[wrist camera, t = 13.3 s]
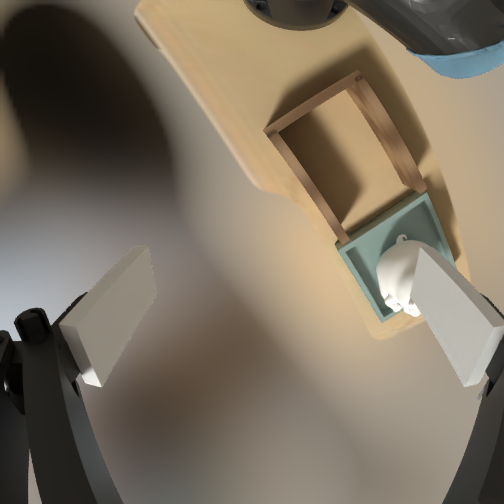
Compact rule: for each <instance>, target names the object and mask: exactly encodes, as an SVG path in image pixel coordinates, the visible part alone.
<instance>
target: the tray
mask: <svg viewBox="0 0 504 504" xmlns="http://www.w3.org/2000/svg"><path fill="white" fill-rule="evenodd" d="M401 234H404V235H406V237H407V239H406V238H405V237H403V241H407V240H417V241H421V242H423V243H425V244H427V245H428V246H430V247H433V248H434V249H436V250H437V251H438V252H439V253H440V254H441V255H442V256H443V257H444V258H445V259H446V260H447V261H448V262H449V263H450V264H451V265H452V266H453V267H454V268H455V269H457V268H456V265H455V262H454V259H453V256H452V253H451V250H450V247H449V245H448V242H447V239H446V237H445V234H444V231H443V229H442V226H441V224H440V221H439V219H438V216H437V214H436V212H435V209H434V207H433V205H432V202H431V200H430V198H429V196H428V193H427V192H426V191H424V192H422V193H421V194H420V193H419V192H417V191H415V192H414V193H412V194H411V195H409V196H408V197H406V198H405V199H403V200H402V201H400V202H399V203H397V204H396V205H394V206H393V207H391V208H390V209H388V210H387V211H385V212H384V213H382V214H381V215H379V216H378V217H376V218H374V219H373V220H371V221H370V222H368V223H367V224H365V225H364V226H362V227H361V228H359V229H357V230H356V231H354V232H353V233H351V234H350V235H348V237H349V239H350V240H349V241H348V242H346V243H345V244H343V245H342V244H341V242H340V241H339V242H337V243H336V244H335V246H336V248H337V250H338V252H339V253H340V255H341V257H342V258H343V260H344V261H345V263H346V265H347V266H348V268H349V269H350V271H351V273H352V274H353V276H354V277H355V279H356V281H357V282H358V284H359V286H360V287H361V289H362V291H363V292H364V294H365V296H366V297H367V299H368V301H369V302H370V304H371V306H372V307H373V309H374V311H375V313H376V314H377V316H378V318H379V320H380V321H381V323H383V322H384V321H386V320H388V319H389V318H391V317H393V316H394V315H396V314H398V313H399V312H401V311H402V310H404V309H403V308H402V309H401V310H400V311H398V312H394V311H393V309H392V308H390V307H389V306H387V305H386V304H385V299H384V298H383V297H382V295H381V292H380V287H379V281H378V277H377V273H376V266H377V263H378V261H379V259H380V257H381V256H382V255H383V253H384V252H385V251H387V250H388V249H389V248H390V247H392V246H393V245H395V244H396V241H397V238H398V236H399V235H401ZM396 304H399V303H396ZM399 305H400V304H399ZM400 306H401V305H400Z"/></svg>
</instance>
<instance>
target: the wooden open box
mask: <svg viewBox="0 0 504 504" xmlns="http://www.w3.org/2000/svg"><path fill="white" fill-rule="evenodd" d="M345 89H346V90H347V92H348V93H349V95H350V96H351V98H352V99H353V101H354V102H355V103H356V105H357V106H358V108H359V109H360V111H361V113H362V114H363V116H364V117H365V119H366V120H367V122H368V123H369V125H370V127H371V128H372V130H373V131H374V133H375V135H376V136H377V138H378V140H379V141H380V143H381V145H382V146H383V148H384V150H385V152H386V153H387V155H388V157H389V159H390V161H391V162H392V164H393V166H394V168H395V170H396V171H397V173H398V175H399V177H400V179H401V181H402V183H403V184H404V185H406V186H408V187H409V188H411V189H413V190H415V191H417V192H419V193H420V194H421V193H422V192H424V191H425V190H427V187H426V184H425V182H424V180H423V178H422V176H421V174H420V172H419V170H418V168H417V166H416V164H415V162H414V160H413V158H412V156H411V154H410V152H409V150H408V149H407V147H406V145H405V143H404V141H403V139H402V138H401V136H400V134H399V132H398V131H397V129H396V127H395V125H394V124H393V122H392V120H391V119H390V117H389V115H388V114H387V112H386V110H385V109H384V107H383V106H382V104H381V102H380V101H379V99H378V98H377V96H376V95H375V93H374V92H373V90H372V89H371V87H370V86H369V84H368V83H367V81H366V80H365V78H364V77H363V76H362V74H361V73H360V71H359V70H357V71H355V72H353V73H351V74H350V75H348V76H346V77H344V78H343V79H341V80H339V81H338V82H336V83H334V84H333V85H331V86H329V87H328V88H326V89H325V90H323V91H321V92H320V93H318V94H316V95H315V96H313V97H312V98H310V99H309V100H307V101H305V102H304V103H302V104H301V105H299V106H298V107H296V108H295V109H293V110H292V111H290V112H289V113H287V114H286V115H284V116H283V117H281V118H280V119H278V120H277V121H275V122H274V123H272V124H271V125H269V126H268V127H267V128H265V129H264V130H263V131H264V133H265V134H266V135H267V136H268V138H269V139H270V140H271V142H272V143H273V145H274V146H275V147H276V149H277V150H278V151H279V153H280V154H281V155H282V157H283V158H284V160H285V161H286V162H287V164H288V165H289V167H290V168H291V169H292V171H293V172H294V174H295V175H296V176H297V178H298V179H299V181H300V182H301V184H302V185H303V186H304V188H305V189H306V191H307V192H308V194H309V195H310V197H311V198H312V200H313V201H314V203H315V204H316V206H317V207H318V208H319V210H320V212H321V213H322V215H323V216H324V218H325V219H326V221H327V222H328V224H329V225H330V227H331V228H332V230H333V231H334V233H335V235H336V236H337V238H338V239H339V241H340V242H341V244H342V245H343V244H345V243H346V242H348V241H349V240H350V239H349V237H348V236H347V234H346V232H345V231H344V229H343V227H342V226H341V224H340V223H339V221H338V219H337V218H336V216H335V215H334V213H333V212H332V210H331V209H330V207H329V205H328V204H327V202H326V201H325V199H324V198H323V196H322V195H321V193H320V192H319V190H318V189H317V187H316V186H315V184H314V183H313V181H312V180H311V178H310V177H309V176H308V174H307V173H306V171H305V170H304V168H303V167H302V165H301V164H300V163H299V161H298V160H297V158H296V157H295V155H294V154H293V153H292V151H291V150H290V149H289V147H288V146H287V144H286V143H285V142H284V140H283V139H282V138H281V136H280V135H279V134H278V132H279V131H281V130H282V129H284V128H285V127H287V126H288V125H290V124H291V123H293V122H294V121H296V120H297V119H299V118H300V117H302V116H303V115H305V114H306V113H308V112H309V111H311V110H312V109H314V108H316V107H317V106H319V105H320V104H322V103H323V102H325V101H327V100H328V99H330V98H331V97H333V96H335V95H336V94H338V93H340V92H341V91H343V90H345Z"/></svg>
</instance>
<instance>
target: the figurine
mask: <svg viewBox="0 0 504 504" xmlns="http://www.w3.org/2000/svg"><path fill="white" fill-rule="evenodd" d="M403 237H405V238H406V239H407V237H406V235H404V234H401V235H399V236H398V238H397V241H396V244H395V245H393V246H392V247H390V248H389V249H388V250H387V251H385V252H384V253H383V255H382V256H381V257H380V259H379V261H378V263H377V266H376V273H377V277H378V281H379V287H380V292H381V295H382V297H383V298H384V299H385V304H386V305H387V306H389V307H390V308H392V309H393V311H394V312H398V311H400V310H401V309H402V308H403V309H404V311H405V312H406V313H408V314H411V315H412V316H419V315H421V312H420V311H419V309H418V308H417V306H416V305H415V303H414V302H413V300H412V299H411V297H410V292H411V288H412V284H413V280H414V275H415V270H416V266H417V261H418V255H419V250H420V247H430V246H428V245H427V244H425V243H423V242H421V241H417V240H407V241H403ZM396 303H399V304H400V305H401V306H400V305H399V304H396Z"/></svg>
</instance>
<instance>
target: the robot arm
mask: <svg viewBox="0 0 504 504" xmlns="http://www.w3.org/2000/svg"><path fill="white" fill-rule="evenodd" d="M243 1H244V3H245V4H246V6H247V7H248V9H249V10H250V11H251V12H252V13H253V14H254V15H256V16H257V17H258V18H260V19H261V20H263V21H265V22H266V23H268V24H271V25H273V26H276V27H279V28H283V29H288V30H297V31H305V30H314V29H318V28H322V27H325V26H327V25H329V24H331V23H333V22H334V21H336V20H337V19H338V18H339V17H340V16H341V15H342V14H343V13H344V12H345V10H346V8H347V7H348V5H350V6H351V7H353V8H355V9H356V10H358V11H359V12H360V13H362V14H363V15H365V16H366V17H368V18H369V19H371V20H372V21H373V22H375V23H376V24H377V25H379V26H380V27H381V28H383V29H384V30H385V31H387V32H388V33H389V34H390V35H392V36H393V37H394V38H395V39H397V40H398V41H399V42H401V43H402V44H403V45H404V46H405V47H406V49H407V50H408V51H409V52H410V53H411V54H413V55H414V56H417V57H419V58H420V59H421V60H422V61H424V62H425V63H426V64H427V65H428V66H430V67H431V68H432V69H433V70H434V71H435V72H437V73H438V74H440V75H442V76H447V77H450V78H455V79H463V78H470V77H474V76H478V75H481V74H483V73H486V72H488V71H490V70H492V69H494V68H496V67H498V66H500V65H501V64H503V63H504V0H243ZM156 296H157V290H156V285H155V280H154V274H153V268H152V262H151V257H150V251H149V246H134V247H133V248H132V249H131V250H130V251H129V252H128V253H127V254H126V255H125V256H123V257H122V258H121V259H120V260H119V261H118V262H117V263H116V264H115V265H114V266H113V267H112V268H111V269H110V270H109V271H108V272H107V273H106V274H105V275H104V276H103V278H101V279H100V280H99V282H97V283H96V285H95V286H94V287H93V288H92V289H91V290H90V291H89V292H86V293H84V294H83V295H81V296H79V297H78V298H77V299H76V300H75V301H74V302H73V303H72V304H71V306H69V307H68V308H67V309H66V312H63V313H62V314H61V316H60V317H59V318H58V319H57V320H56V321H55V322H54V323H53V324H52V325H50V323H49V320H48V318H47V315H46V313H45V311H44V310H43V309H42V308H32V309H28V310H26V311H24V312H22V313H21V314H19V315H18V316H17V318H16V319H15V321H14V325H15V327H16V329H17V331H18V333H19V336H20V338H21V340H22V341H13V340H12V339H11V336H10V334H9V332H8V331H5V330H1V331H0V504H28V467H29V450H30V453H31V458H32V463H33V468H34V473H35V477H36V482H37V486H38V490H39V494H40V498H41V501H42V504H123V502H122V500H121V498H120V496H119V494H118V491H117V489H116V487H115V485H114V483H113V481H112V478H111V476H110V474H109V472H108V469H107V467H106V464H105V462H104V460H103V457H102V455H101V452H100V449H99V447H98V444H97V442H96V439H95V436H94V433H93V430H92V427H91V424H90V421H89V418H88V415H87V412H86V409H85V405H84V402H83V399H82V395H81V391H80V388H79V385H78V383H77V381H76V378H77V376H78V374H79V373H81V375H82V377H83V379H84V381H85V383H86V384H90V385H95V386H99V387H102V386H103V384H104V383H105V381H106V379H107V378H108V376H109V374H110V372H111V371H112V369H113V367H114V366H115V364H116V362H117V360H118V359H119V357H120V355H121V354H122V352H123V350H124V349H125V347H126V345H127V343H128V342H129V340H130V338H131V337H132V335H133V334H134V332H135V330H136V329H137V327H138V325H139V323H140V322H141V320H142V319H143V317H144V315H145V314H146V312H147V311H148V309H149V308H150V306H151V304H152V302H153V301H154V300H155V298H156ZM410 297H411V299H412V300H413V302H414V303H415V305H416V306H417V308H418V309H419V311H420V312H421V314H422V316H423V317H424V319H425V320H426V322H427V324H428V325H429V327H430V328H431V330H432V331H433V333H434V335H435V337H436V338H437V340H438V342H439V343H440V345H441V347H442V348H443V350H444V352H445V354H446V355H447V357H448V359H449V360H450V362H451V364H452V366H453V368H454V370H455V371H456V373H457V375H458V377H459V378H460V380H461V382H462V384H463V386H464V387H467V386H471V385H475V384H479V382H480V380H481V379H482V377H483V375H484V373H485V372H486V373H487V375H488V377H489V380H488V381H487V383H486V384H485V386H484V388H483V389H482V391H481V393H480V394H479V396H478V398H477V399H480V397H481V396H483V397H482V400H481V404H480V407H479V411H478V415H477V418H476V421H475V425H474V428H473V431H472V434H471V437H470V440H469V442H468V445H467V448H466V451H465V453H464V456H463V459H462V461H461V464H460V466H459V468H458V471H457V473H456V476H455V478H454V480H453V482H452V484H451V487H450V489H449V491H448V493H447V495H446V497H445V499H444V501H443V503H442V504H504V315H503V314H502V313H501V312H499V310H498V309H497V308H496V306H495V307H494V304H493V303H492V302H491V301H490V300H489V299H488V298H487V297H485V296H484V295H482V294H481V293H479V292H478V291H477V290H476V289H475V288H474V287H473V286H472V285H471V284H470V283H469V282H468V281H467V279H466V278H465V277H464V276H463V275H462V274H461V273H460V272H459V271H458V270H457V269H455V268H454V267H453V266H452V265H451V264H450V263H449V262H448V261H447V260H446V259H445V258H444V257H443V256H442V255H441V254H440V253H439V252H438V251H437V250H436V249H434V248H433V247H420V250H419V255H418V261H417V266H416V270H415V275H414V280H413V284H412V288H411V292H410ZM4 383H5V384H6V386H7V389H6V391H5V387H4Z"/></svg>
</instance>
